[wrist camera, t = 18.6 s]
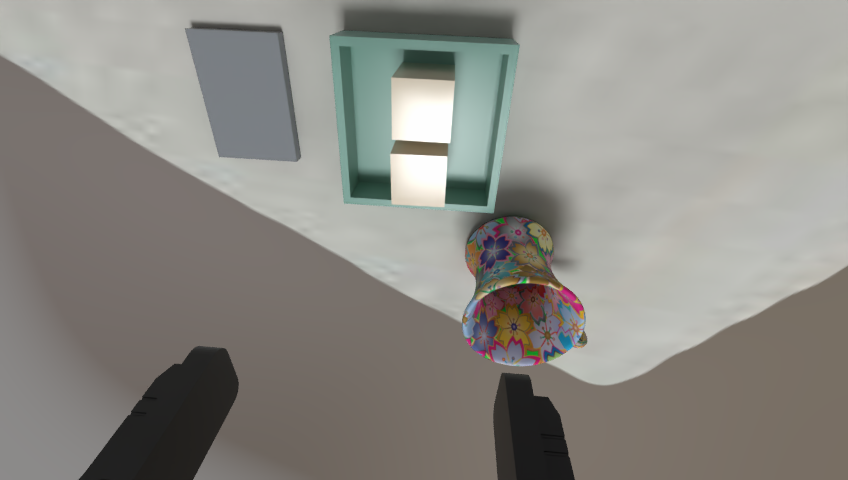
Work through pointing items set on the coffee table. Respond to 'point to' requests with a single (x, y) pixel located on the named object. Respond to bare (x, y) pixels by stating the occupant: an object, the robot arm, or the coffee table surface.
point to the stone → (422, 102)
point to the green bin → (471, 119)
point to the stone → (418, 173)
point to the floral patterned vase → (519, 296)
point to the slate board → (246, 92)
